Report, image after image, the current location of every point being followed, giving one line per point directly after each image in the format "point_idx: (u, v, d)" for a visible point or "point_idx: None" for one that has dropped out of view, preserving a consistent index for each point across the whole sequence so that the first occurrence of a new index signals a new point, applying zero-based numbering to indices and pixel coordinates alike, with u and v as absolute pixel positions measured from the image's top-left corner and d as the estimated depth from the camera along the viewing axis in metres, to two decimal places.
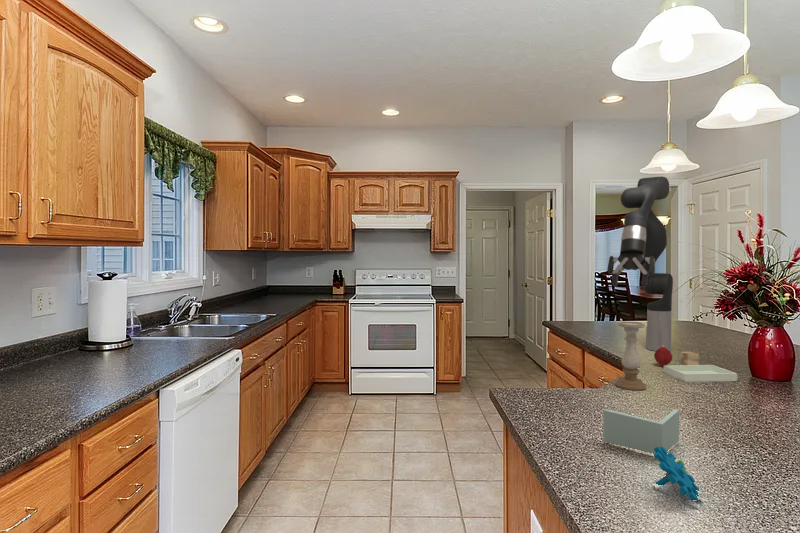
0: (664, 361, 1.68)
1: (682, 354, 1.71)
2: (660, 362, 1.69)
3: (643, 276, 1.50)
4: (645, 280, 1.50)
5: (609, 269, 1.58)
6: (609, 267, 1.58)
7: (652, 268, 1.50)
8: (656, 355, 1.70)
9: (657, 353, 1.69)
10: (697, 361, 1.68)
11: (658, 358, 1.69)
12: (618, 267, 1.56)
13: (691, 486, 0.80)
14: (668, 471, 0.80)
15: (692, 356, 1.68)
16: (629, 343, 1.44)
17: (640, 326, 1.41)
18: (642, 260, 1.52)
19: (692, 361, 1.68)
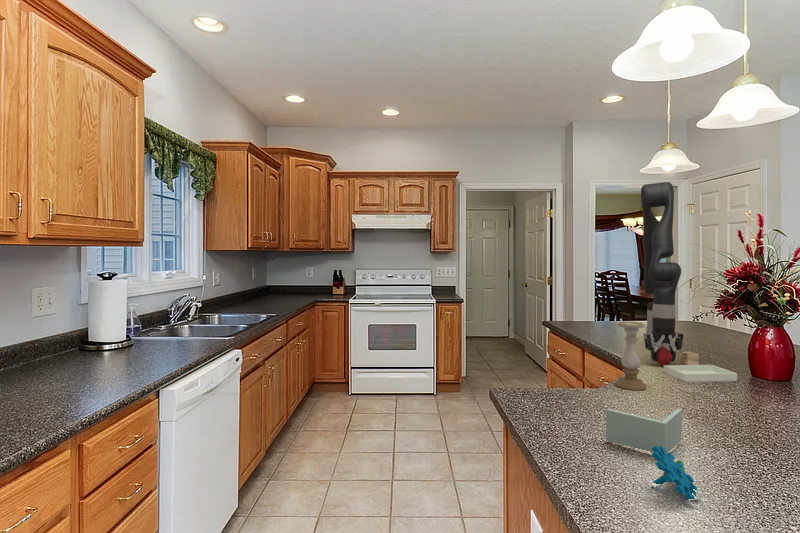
0: (664, 361, 1.68)
1: (682, 354, 1.71)
2: (660, 362, 1.69)
3: (673, 353, 1.69)
4: (674, 356, 1.69)
5: (651, 347, 1.69)
6: (650, 345, 1.69)
7: (680, 345, 1.69)
8: None
9: (657, 353, 1.69)
10: (697, 361, 1.68)
11: (658, 358, 1.69)
12: (658, 345, 1.68)
13: (688, 485, 0.80)
14: (665, 470, 0.80)
15: (692, 356, 1.68)
16: (629, 343, 1.44)
17: (640, 326, 1.41)
18: (674, 336, 1.69)
19: (692, 361, 1.68)
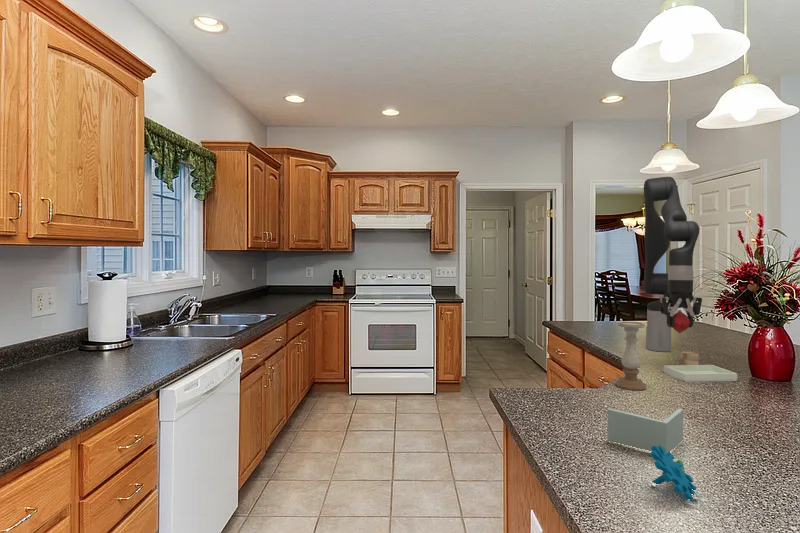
0: (681, 326, 1.56)
1: (682, 354, 1.71)
2: (677, 328, 1.57)
3: (691, 318, 1.57)
4: (692, 321, 1.58)
5: (666, 311, 1.57)
6: (665, 309, 1.57)
7: (699, 310, 1.57)
8: None
9: None
10: (697, 361, 1.68)
11: (674, 323, 1.57)
12: (674, 309, 1.57)
13: (687, 485, 0.80)
14: (663, 469, 0.80)
15: (692, 356, 1.68)
16: (629, 343, 1.44)
17: (640, 326, 1.41)
18: (691, 300, 1.57)
19: (692, 361, 1.68)
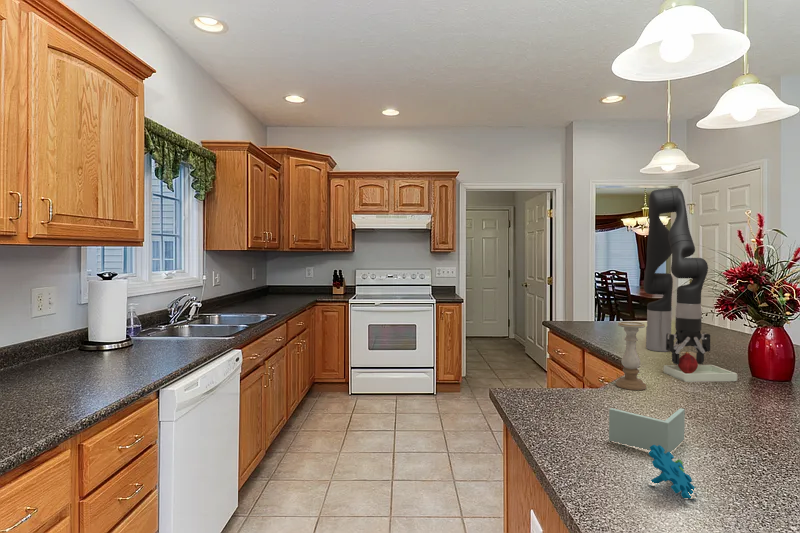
0: (689, 369, 1.54)
1: (682, 354, 1.71)
2: (685, 370, 1.55)
3: (701, 355, 1.55)
4: (702, 358, 1.55)
5: (672, 349, 1.55)
6: (671, 347, 1.55)
7: (709, 347, 1.55)
8: (680, 363, 1.56)
9: (681, 360, 1.56)
10: None
11: (682, 366, 1.55)
12: (681, 347, 1.54)
13: (686, 485, 0.81)
14: (661, 469, 0.81)
15: None
16: (629, 343, 1.44)
17: (640, 326, 1.41)
18: (700, 338, 1.55)
19: None
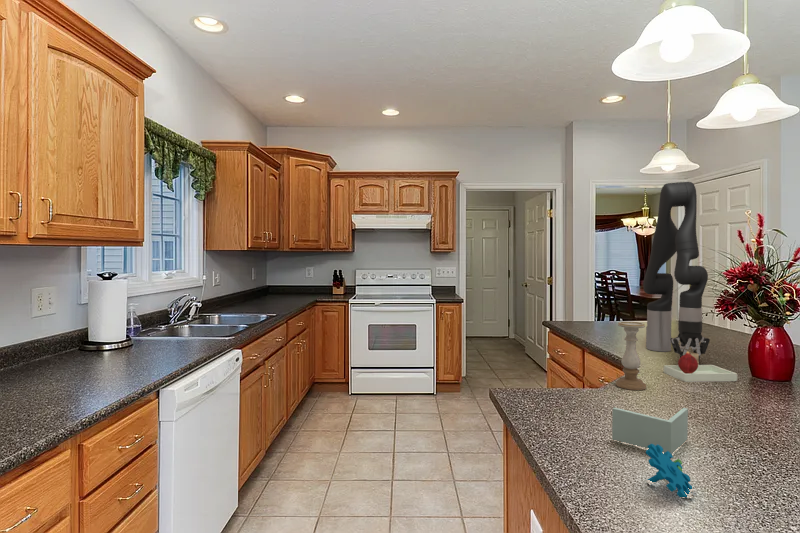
0: (689, 369, 1.54)
1: None
2: (685, 370, 1.55)
3: None
4: None
5: (680, 351, 1.69)
6: (678, 349, 1.69)
7: (705, 350, 1.69)
8: (680, 363, 1.56)
9: (682, 360, 1.55)
10: (697, 361, 1.68)
11: (683, 366, 1.55)
12: (686, 349, 1.69)
13: (682, 484, 0.81)
14: (658, 467, 0.81)
15: None
16: (629, 343, 1.44)
17: (640, 326, 1.41)
18: (700, 339, 1.69)
19: None
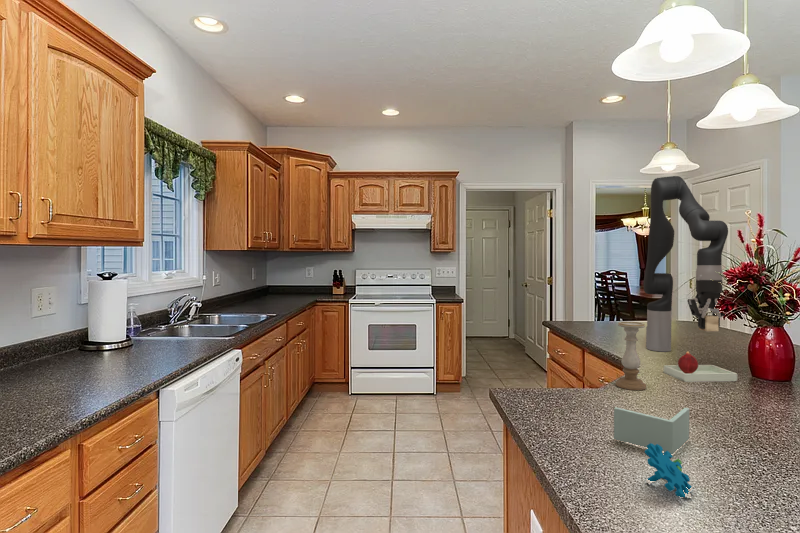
0: (689, 369, 1.54)
1: None
2: (685, 370, 1.55)
3: None
4: None
5: (698, 313, 1.55)
6: (697, 311, 1.55)
7: None
8: (680, 363, 1.56)
9: (681, 360, 1.55)
10: (717, 324, 1.55)
11: (683, 366, 1.55)
12: (705, 310, 1.55)
13: (681, 484, 0.81)
14: (656, 467, 0.81)
15: (711, 318, 1.55)
16: (629, 343, 1.44)
17: (640, 326, 1.41)
18: None
19: (711, 324, 1.55)
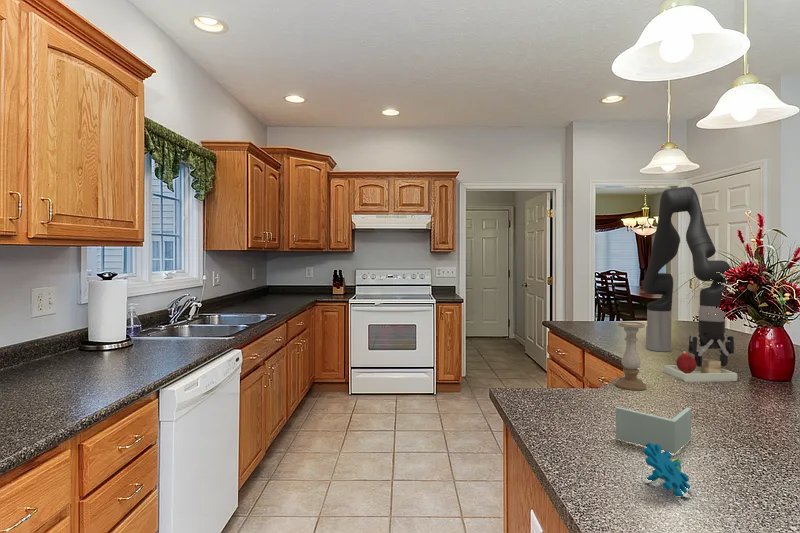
0: (688, 369, 1.54)
1: (702, 361, 1.57)
2: (684, 371, 1.55)
3: (725, 357, 1.55)
4: (726, 360, 1.56)
5: (695, 351, 1.55)
6: (694, 349, 1.55)
7: (733, 349, 1.55)
8: (679, 363, 1.56)
9: (679, 361, 1.55)
10: (719, 369, 1.54)
11: (681, 367, 1.55)
12: (704, 349, 1.54)
13: (679, 483, 0.81)
14: (654, 466, 0.82)
15: (714, 363, 1.54)
16: (629, 343, 1.44)
17: (640, 326, 1.41)
18: (723, 340, 1.55)
19: (713, 369, 1.54)
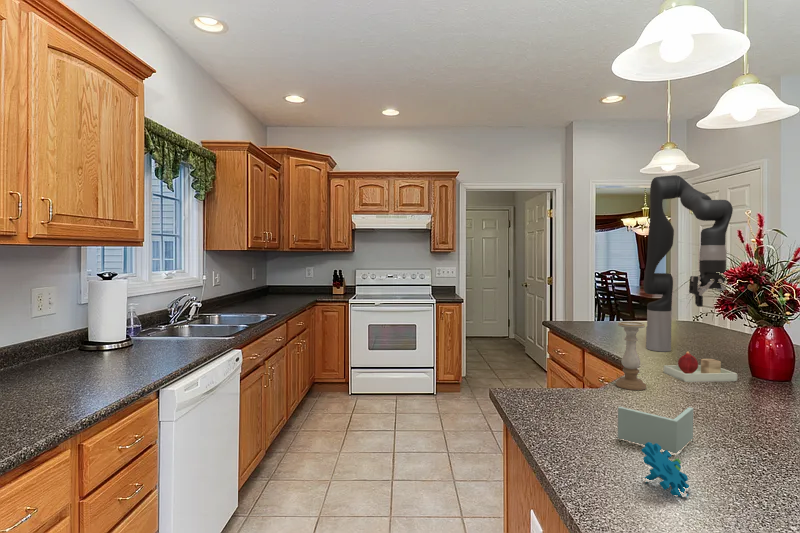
0: (689, 369, 1.54)
1: (702, 361, 1.57)
2: (685, 370, 1.55)
3: None
4: None
5: (695, 291, 1.54)
6: (695, 288, 1.54)
7: None
8: (680, 363, 1.56)
9: (682, 360, 1.55)
10: (719, 369, 1.54)
11: (683, 366, 1.55)
12: (705, 289, 1.54)
13: (678, 482, 0.81)
14: (652, 465, 0.82)
15: (714, 363, 1.54)
16: (629, 343, 1.44)
17: (640, 326, 1.41)
18: (724, 280, 1.54)
19: (713, 369, 1.54)
